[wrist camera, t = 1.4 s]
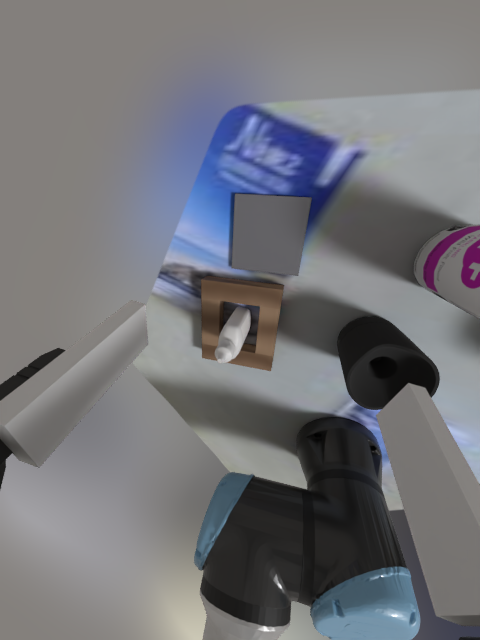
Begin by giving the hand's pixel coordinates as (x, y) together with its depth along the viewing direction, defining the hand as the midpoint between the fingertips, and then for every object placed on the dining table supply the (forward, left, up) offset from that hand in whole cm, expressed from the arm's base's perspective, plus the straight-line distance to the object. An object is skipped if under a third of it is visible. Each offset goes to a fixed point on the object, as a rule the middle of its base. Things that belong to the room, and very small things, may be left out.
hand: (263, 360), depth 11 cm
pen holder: (-10, -14, -25) cm, 30 cm away
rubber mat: (+4, +3, -24) cm, 25 cm away
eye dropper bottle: (-10, +6, -25) cm, 27 cm away
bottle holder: (-10, +6, -24) cm, 27 cm away
